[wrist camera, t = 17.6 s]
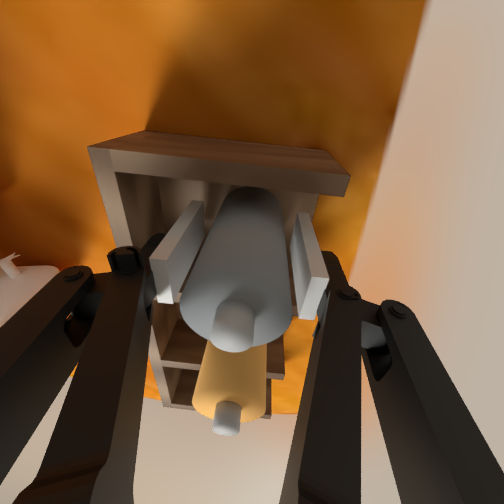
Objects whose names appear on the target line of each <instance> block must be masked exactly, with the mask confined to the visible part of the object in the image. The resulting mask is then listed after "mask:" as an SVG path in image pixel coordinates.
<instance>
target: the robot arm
mask: <svg viewBox="0 0 504 504" xmlns="http://www.w3.org/2000/svg"><path fill="white" fill-rule="evenodd" d="M204 237H205V232H204V201H196V200H192V201H191V202H190V204H189V205H188V206H187V208H186V209H185V210H184V212H183V213H182V214H181V216H180V217H179V218H178V220H177V221H176V222H175V224H174V225H173V227H172V228H171V229H170V231H169V232H168V233H167V234H165V233H157V234H155V235H154V236H152V237H151V238H150V239H149V240H148V241H147V243H145V245H144V246H143V248H141V249H139V248H138V247H135V246H122V247H118V248H116V249H113V250H112V251H110V252H109V253H108V255H107V258H108V261H109V264H110V267H111V270H112V272H108V273H98V274H93V272H92V270H91V268H89V267H88V266H83V265H81V266H73V267H69V268H66V269H64V270H62V271H61V272H59V273H58V274H56V275H55V276H54V277H53V278H52V279H51V280H50V281H49V282H48V283H47V284H46V285H45V286H44V287H43V288H42V289H41V290H39V291H38V292H37V293H36V294H35V295H34V296H33V297H32V298H31V299H30V300H29V301H28V302H27V303H26V304H25V305H24V306H23V307H21V308H20V309H19V310H18V311H17V312H16V313H15V314H14V315H13V316H12V317H11V318H10V319H9V320H8V321H7V322H6V323H5V324H3V325H2V326H1V327H0V485H1V483H2V482H3V480H4V478H5V477H6V475H7V474H8V472H9V471H10V469H11V467H12V466H13V464H14V463H15V461H16V460H17V458H18V456H19V455H20V453H21V452H22V450H23V448H24V447H25V445H26V444H27V442H28V440H29V439H30V437H31V436H32V434H33V433H34V431H35V430H36V428H37V426H38V425H39V423H40V422H41V420H42V418H43V417H44V415H45V414H46V412H47V411H48V409H49V407H50V406H51V404H52V403H53V401H54V400H55V398H56V396H57V395H58V393H59V392H60V390H61V389H62V387H63V385H64V384H65V382H66V381H67V379H68V377H69V376H70V374H71V373H72V371H73V370H74V368H75V366H76V365H77V363H78V365H77V368H76V371H75V373H74V376H73V379H72V382H71V384H70V387H69V390H68V392H67V395H66V398H65V401H64V404H63V406H62V409H61V412H60V415H59V417H58V420H57V423H56V425H55V428H54V431H53V434H52V436H51V439H50V442H49V445H48V447H47V450H46V453H45V456H44V458H43V461H42V464H41V467H40V469H39V471H38V474H37V476H36V478H35V479H34V480H33V482H32V483H31V484H30V485H29V486H27V487H26V488H25V489H24V490H23V491H22V492H21V493H19V495H18V496H17V498H16V499H15V500H14V502H13V503H12V504H134V501H133V481H134V472H135V463H136V455H137V446H138V437H139V429H140V421H141V412H142V403H143V395H144V386H145V378H146V369H147V361H148V352H149V344H150V335H151V326H152V318H153V309H154V307H153V302H152V301H153V299H154V298H155V296H156V295H157V300H158V302H159V303H167V304H174V301H175V299H176V297H177V295H178V293H179V291H180V288H181V286H182V284H183V282H184V280H185V278H186V276H187V273H188V271H189V269H190V267H191V265H192V263H193V261H194V258H195V256H196V254H197V252H198V250H199V248H200V246H201V243H202V241H203V239H204ZM290 253H291V261H292V269H293V277H294V285H295V293H296V301H297V309H298V317H299V319H308V320H314V319H315V316H316V313H317V316H318V323H317V325H316V328H315V331H314V333H313V337H314V339H313V344H312V349H311V353H310V358H309V363H308V368H307V373H306V377H305V382H304V387H303V392H302V397H301V401H300V406H299V411H298V416H297V421H296V426H295V430H294V435H293V440H292V445H291V450H290V455H289V459H288V464H287V469H286V474H285V478H284V484H283V488H282V493H281V497H280V502H279V504H361V355H362V358H363V362H364V365H365V369H366V373H367V377H368V381H369V384H370V388H371V392H372V395H373V399H374V403H375V407H376V410H377V414H378V418H379V421H380V425H381V429H382V432H383V436H384V440H385V444H386V448H387V451H388V455H389V459H390V463H391V466H392V470H393V474H394V477H395V481H396V485H397V489H398V492H399V496H400V500H401V504H504V473H503V471H502V469H501V467H500V466H499V464H498V462H497V460H496V458H495V457H494V455H493V453H492V451H491V450H490V448H489V446H488V444H487V443H486V441H485V439H484V437H483V435H482V434H481V432H480V430H479V429H478V427H477V425H476V423H475V421H474V420H473V418H472V416H471V414H470V412H469V410H468V409H467V407H466V405H465V403H464V401H463V400H462V398H461V396H460V394H459V393H458V391H457V389H456V387H455V385H454V384H453V382H452V380H451V378H450V377H449V375H448V373H447V371H446V369H445V368H444V366H443V364H442V362H441V361H440V359H439V357H438V355H437V353H436V352H435V350H434V348H433V347H432V345H431V343H430V341H429V339H428V338H427V336H426V334H425V332H424V330H423V329H422V327H421V325H420V323H419V321H418V320H417V318H416V316H415V314H414V313H413V312H412V310H411V309H410V308H408V307H407V306H406V305H404V304H402V303H400V302H398V301H394V300H385V301H383V302H382V303H381V305H377V304H374V303H371V302H368V301H365V300H363V299H361V296H360V294H359V292H358V291H357V290H355V289H354V288H353V287H351V286H349V284H348V282H347V279H346V277H345V275H344V272H343V270H342V267H341V265H340V262H339V260H338V257H337V256H336V255H335V254H334V253H333V252H330V251H321V250H320V247H319V244H318V241H317V238H316V235H315V232H314V228H313V225H312V222H311V219H310V216H309V213H303V212H297V215H296V220H295V224H294V229H293V233H292V238H291V242H290ZM70 313H71V314H70ZM69 314H70V315H69ZM68 315H69V317H68ZM67 317H68V318H67ZM66 318H67V319H66Z"/></svg>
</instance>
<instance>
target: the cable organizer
mask: <svg viewBox="0 0 504 504" xmlns="http://www.w3.org/2000/svg"><path fill="white" fill-rule="evenodd" d="M14 254H15V253H13V254H11V255H9V256H8V257H6V258H3V259H0V327H1V326H2V325H3V324H5V323H6V322H7V321H8V320H9V319H10V318H11V317H12V316H13V315H14V314H15V313H16V312H17V311H18V310H19V309H20V308H21V307H23V306H24V305H25V304H26V303H27V302H28V301H29V300H30V299H31V298H32V297H33V296H34V295H35V294H36V293H37V292H38V291H39V290H41V289H42V288H43V287H44V286H45V285H46V284H47V283H48V282H49V281H50V280H51V279H52V278H53V277H54V276H55V275H56V274H58V273H59V272H60V271H59V269H58V268H57V267H55V266H49V265H42V266H15V264H14V263H13V262H12V261H11V259H13V258H15V257H17V256H19V255H16V256H14Z"/></svg>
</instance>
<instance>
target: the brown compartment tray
mask: <svg viewBox="0 0 504 504" xmlns="http://www.w3.org/2000/svg"><path fill="white" fill-rule="evenodd" d="M87 149H88V152H89V155H90V159H91V162H92V166H93V169H94V172H95V176H96V179H97V183H98V186H99V189H100V193H101V196H102V200H103V203H104V206H105V210H106V213H107V216H108V220H109V223H110V227H111V230H112V233H113V237H114V240H115V244H116V247H117V248H118V247H122V246H135V247H138V248H139V249H141V248H143V246H144V245H145V243H147V241H148V240H149V239H150V238H151V237H152V236H154V235H155V234H157V233H165V234H167V233H168V232H169V231H170V229H171V228H172V227H173V225H174V224H175V222H176V221H177V220H178V218H179V217H180V216H181V214H182V213H183V212H184V210H185V209H186V208H187V206H188V205H189V204H190V202H191V201H192V200H196V201H204V232H205V237H204V239H203V241H202V243H201V246H200V248H199V250H198V252H197V254H196V256H195V258H194V261H193V263H192V265H191V267H190V269H189V271H188V273H187V276H186V278H185V280H184V282H183V284H182V286H181V288H180V291H179V293H178V295H177V297H176V299H175V301H174V304H167V303H159V302H158V300H157V295H156V296H155V298H154V299H153V301H152V302H153V307H154V309H153V318H152V326H151V335H150V344H149V352H148V356H149V359H150V362H151V366H152V369H153V373H154V376H155V379H156V383H157V386H158V390H159V393H160V396H161V400H162V403H163V406H164V407H170V408H179V409H188V410H196V409H195V408H194V407H193V405H192V399H193V395H194V391H195V387H196V383H197V379H198V376H199V372H200V368H201V364H202V360H203V356H204V352H205V349H206V345H207V341H208V339H205V338H204V337H202V336H200V335H199V334H197V333H196V332H195V331H193V330H192V329H191V328H190V327H189V326H188V324H187V323H186V322H185V320H184V319H183V317H182V314H181V311H180V297H181V294H182V292H183V290H184V287H185V285H186V283H187V281H188V278H189V276H190V274H191V272H192V269H193V267H194V265H195V263H196V261H197V258H198V256H199V254H200V252H201V249H202V247H203V245H204V243H205V240H206V238H207V236H208V234H209V232H210V229H211V227H212V225H213V223H214V220H215V218H216V216H217V214H218V211H219V209H220V207H221V205H222V203H223V201H224V199H225V198H226V197H227V196H228V195H229V194H230V193H231V192H232V191H234V190H236V189H238V188H241V187H246V186H250V187H259V188H263V189H265V190H267V191H269V192H270V193H271V194H273V195H274V196H275V197H276V199H277V200H278V201H279V203H280V205H281V208H282V212H283V221H284V231H285V241H286V251H287V261H288V271H289V281H290V291H291V301H292V313H293V315H292V316H298V309H297V301H296V293H295V285H294V277H293V269H292V261H291V253H290V242H291V238H292V233H293V229H294V224H295V220H296V215H297V212H303V213H309V216H310V219H311V222H312V219H313V215H314V212H315V208H316V204H317V200H318V196H319V194H321V195H330V196H339V197H344V195H345V192H346V189H347V186H348V183H349V180H350V177H351V176H350V175H349V174H348V173H347V171H346V170H345V169H344V168H343V167H342V166H341V165H340V164H339V163H338V162H337V161H336V160H335V159H334V158H333V157H332V156H331V155H330V154H329V153H328V152H327V151H326V150H317V149H308V148H299V147H290V146H281V145H272V144H263V143H254V142H244V141H235V140H226V139H217V138H208V137H199V136H190V135H181V134H172V133H163V132H154V131H145V130H144V131H140V132H137V133H133V134H129V135H126V136H122V137H119V138H115V139H112V140H108V141H105V142H101V143H98V144H94V145H90V146H87ZM284 376H285V366H284V346H283V334H282V335H281V336H280V337H278V338H277V339H275V340H273V341H271V342H269V343H267V361H266V411H265V413H264V415H263V416H262V417H260V418H265V419H270V418H271V379H278V380H283V379H284ZM196 411H197V410H196Z"/></svg>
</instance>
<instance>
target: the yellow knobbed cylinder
mask: <svg viewBox="0 0 504 504" xmlns="http://www.w3.org/2000/svg"><path fill="white" fill-rule="evenodd" d="M266 361H267V343H266V344H263V345H259V346H254V347H250V348H249V349H247V350H245V351H242V352H227V351H223V350H221V349H219V348H217V347H215V346H214V345H213V344H212V342H211V341H210V340H208V341H207V345H206V349H205V352H204V356H203V360H202V364H201V368H200V372H199V376H198V379H197V383H196V387H195V391H194V395H193V399H192V405H193V407H194V408H195V409H196V410H197V411H198V412H199V413H201V414H202V415H204V416H206V417H209V418H211V419H213V425H212V430H213V431H214V432H215V433H218V434H221V435H228V436H231V435H236V434H238V433H239V429H240V423H243V422H249V421H254V420H256V419H259V418H260V417H262V416H263V415H264V413H265V411H266Z"/></svg>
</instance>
